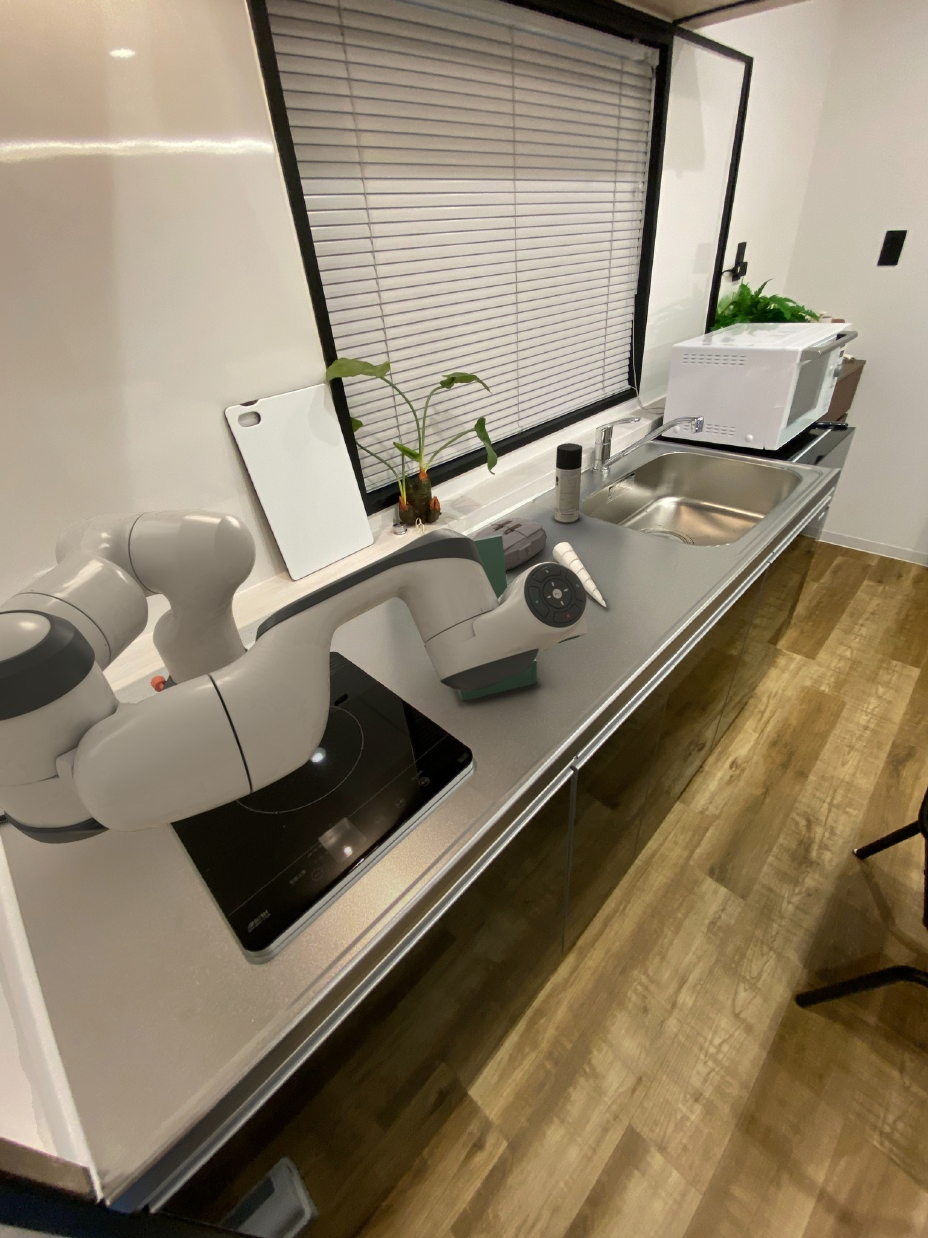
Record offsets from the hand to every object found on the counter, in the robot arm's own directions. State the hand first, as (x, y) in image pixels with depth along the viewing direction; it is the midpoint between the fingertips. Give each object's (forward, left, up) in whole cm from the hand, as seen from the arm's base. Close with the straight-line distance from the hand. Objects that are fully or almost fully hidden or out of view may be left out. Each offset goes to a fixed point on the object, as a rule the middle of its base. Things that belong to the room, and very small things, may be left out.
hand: (501, 640), depth 83 cm
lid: (+9, +15, 0) cm, 18 cm away
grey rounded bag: (+41, +35, -14) cm, 56 cm away
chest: (+5, +8, -14) cm, 17 cm away
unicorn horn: (+41, +14, -14) cm, 46 cm away
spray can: (+66, +36, -14) cm, 77 cm away
